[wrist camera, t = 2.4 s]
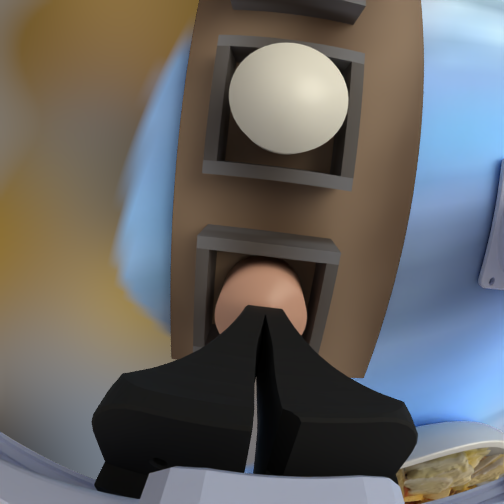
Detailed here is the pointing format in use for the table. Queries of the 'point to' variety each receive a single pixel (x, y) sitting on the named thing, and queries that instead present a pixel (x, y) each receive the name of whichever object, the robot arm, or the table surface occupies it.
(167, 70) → the table surface
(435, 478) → the bowl
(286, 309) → the terracotta button
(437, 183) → the table surface
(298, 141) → the cream button
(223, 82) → the panel
